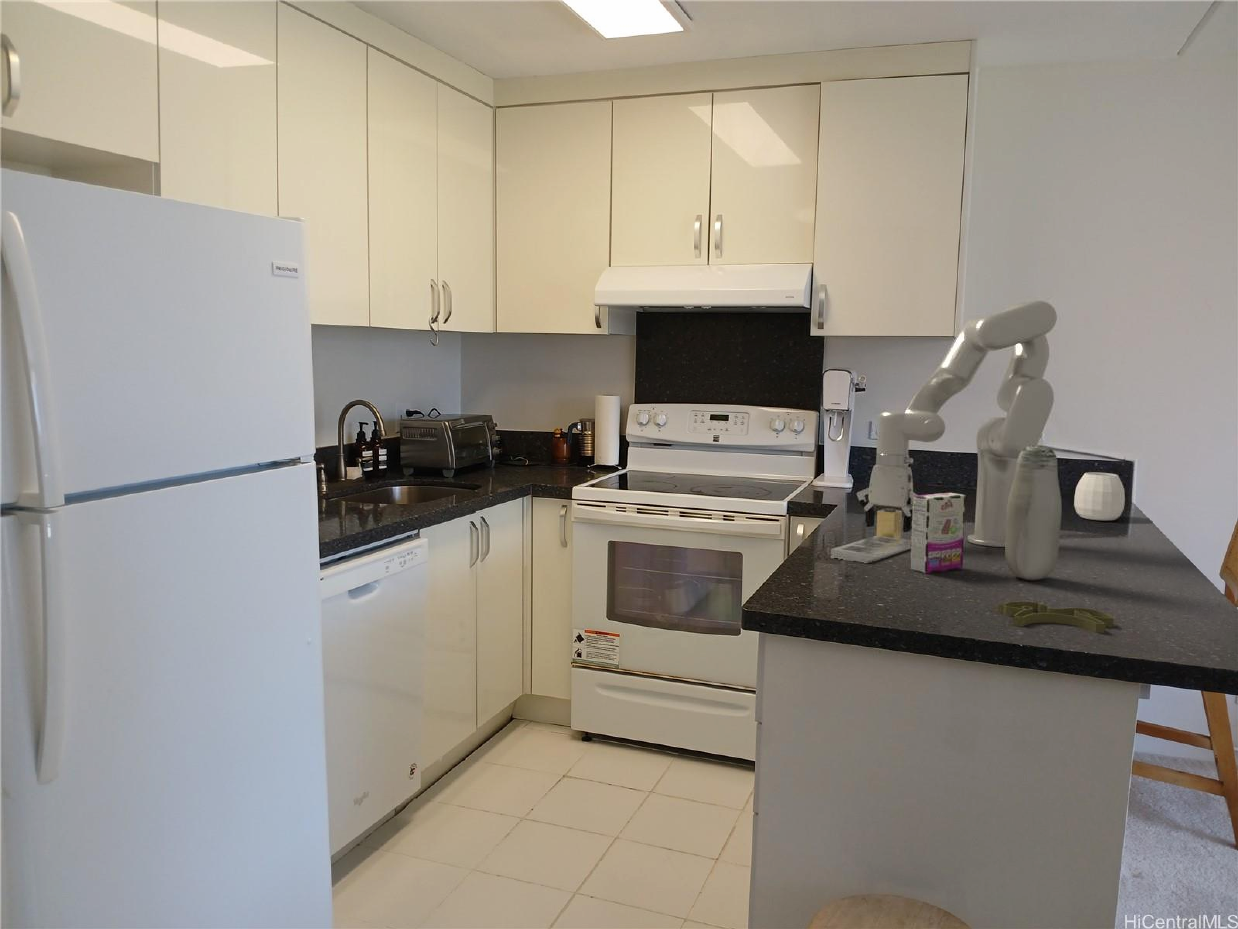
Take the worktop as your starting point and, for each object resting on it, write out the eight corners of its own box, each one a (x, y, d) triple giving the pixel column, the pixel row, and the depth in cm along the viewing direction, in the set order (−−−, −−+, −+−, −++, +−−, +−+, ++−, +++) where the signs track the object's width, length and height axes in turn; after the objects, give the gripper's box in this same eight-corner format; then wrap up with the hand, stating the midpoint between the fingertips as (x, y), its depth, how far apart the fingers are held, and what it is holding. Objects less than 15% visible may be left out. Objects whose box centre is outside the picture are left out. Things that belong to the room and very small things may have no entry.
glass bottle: (1053, 586, 184) (1062, 448, 181) (999, 580, 189) (1007, 445, 186) (1059, 577, 192) (1068, 444, 189) (1007, 571, 198) (1015, 442, 195)
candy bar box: (945, 565, 203) (949, 492, 202) (963, 569, 199) (967, 494, 197) (908, 569, 198) (911, 494, 196) (925, 574, 194) (929, 497, 192)
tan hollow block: (900, 542, 230) (902, 509, 229) (893, 544, 226) (894, 511, 226) (883, 539, 233) (885, 507, 232) (876, 542, 229) (877, 509, 228)
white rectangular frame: (910, 548, 222) (911, 540, 221) (867, 563, 203) (867, 554, 203) (875, 543, 227) (876, 535, 227) (830, 557, 209) (830, 549, 209)
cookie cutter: (1001, 627, 156) (1002, 615, 156) (994, 609, 167) (995, 598, 167) (1119, 637, 151) (1120, 625, 150) (1104, 619, 162) (1104, 607, 162)
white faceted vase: (1075, 521, 267) (1078, 475, 265) (1071, 514, 279) (1074, 470, 277) (1126, 524, 262) (1129, 477, 260) (1120, 517, 274) (1123, 473, 272)
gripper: (931, 463, 225) (927, 531, 226) (866, 457, 236) (862, 523, 238) (919, 465, 219) (915, 535, 221) (852, 459, 230) (849, 526, 232)
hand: (888, 529), depth 229 cm, fingers open, 9 cm apart
